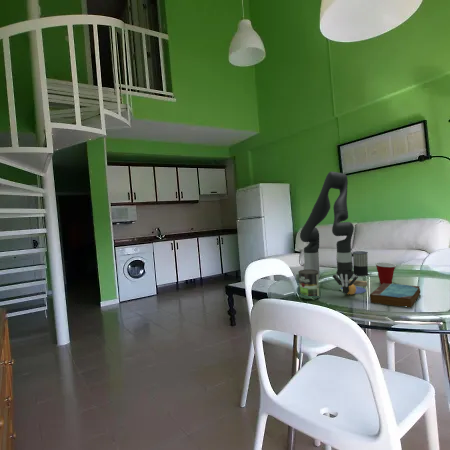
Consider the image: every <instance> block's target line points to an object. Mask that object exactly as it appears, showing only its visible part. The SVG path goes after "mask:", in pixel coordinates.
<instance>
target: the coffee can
mask: <svg viewBox="0 0 450 450" xmlns="http://www.w3.org/2000/svg"><path fill="white" fill-rule="evenodd" d="M318 273H319V272H318V271H317V270H312V269H305V270H304V269H301V270H299V271H298V280H299V281H298V282H299V283H298V284H299V285H298V286H299V294H300V293H301V294H304V295H308V296H319V297H320V283H319V281H320V278H319V277H318Z"/></svg>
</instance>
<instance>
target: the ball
mask: <svg viewBox="0 0 450 450" xmlns="http://www.w3.org/2000/svg"><path fill="white" fill-rule="evenodd" d="M355 286H356V285H353V284H352V285H351V286H349V292H348V293H347V294H346V295H349V294H350V295H349V296H351V295H355V294H354V293H355V292H356V287H357V286H356V287H355Z"/></svg>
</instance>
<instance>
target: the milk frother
mask: <svg viewBox="0 0 450 450" xmlns="http://www.w3.org/2000/svg"><path fill="white" fill-rule="evenodd" d="M351 254H352V269H353V273H354V275H355V276H358V277H360V276H361V277H364V276H369V268H368V267H369V266H368V265H369V264H368V262H369V260H368V254H369V253H368V251H363V250H362V251H361V250H355V251H352V252H351Z"/></svg>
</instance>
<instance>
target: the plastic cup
mask: <svg viewBox="0 0 450 450" xmlns="http://www.w3.org/2000/svg"><path fill="white" fill-rule="evenodd" d="M375 267H376V271H377V276H378V280H379V284H380V285H382V284H383V283H385V284H393V279H394V274H395V273H394V272H395V269H396V267H397V265H396V264H394V263H390V262H375Z"/></svg>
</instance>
